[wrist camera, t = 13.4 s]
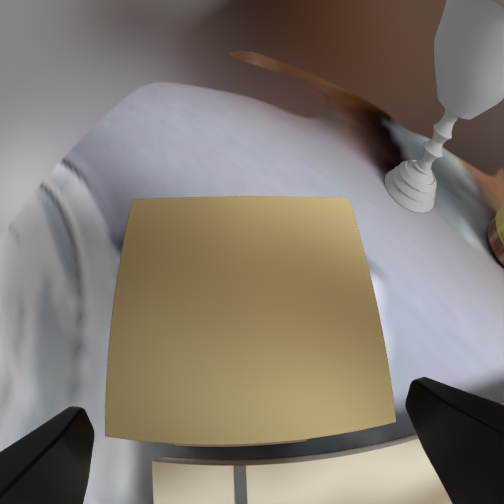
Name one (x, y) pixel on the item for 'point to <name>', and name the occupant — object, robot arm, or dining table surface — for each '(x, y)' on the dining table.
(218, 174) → the dining table surface
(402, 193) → the chalice
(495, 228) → the sauce bottle
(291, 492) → the board
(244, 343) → the tan pillar on plinth
